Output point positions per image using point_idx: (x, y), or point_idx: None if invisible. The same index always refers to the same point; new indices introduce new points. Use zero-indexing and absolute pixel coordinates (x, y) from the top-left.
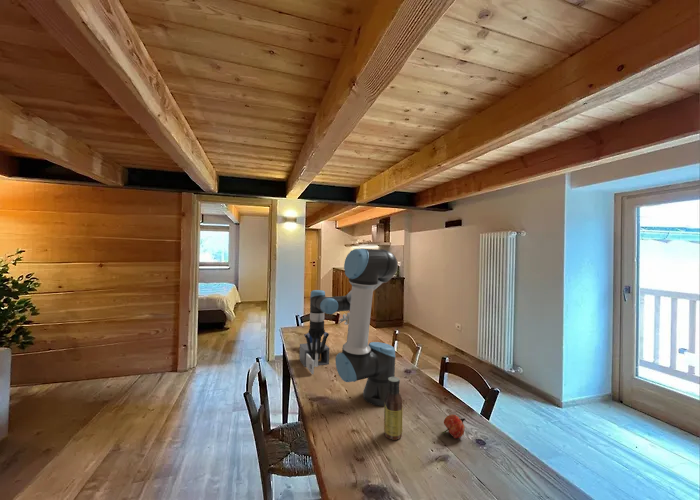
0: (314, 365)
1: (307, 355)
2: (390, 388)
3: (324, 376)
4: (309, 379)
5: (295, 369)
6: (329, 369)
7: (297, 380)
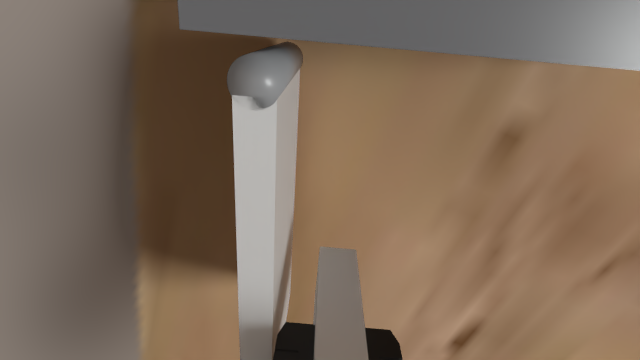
0: (316, 284)
1: (235, 195)
2: None
3: (376, 319)
4: (237, 322)
5: (144, 57)
6: (505, 207)
7: (138, 304)
